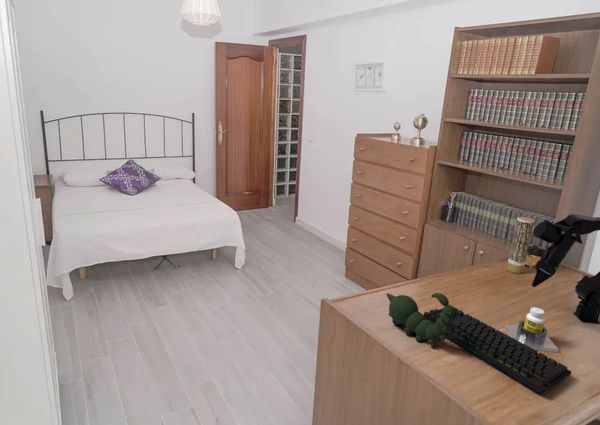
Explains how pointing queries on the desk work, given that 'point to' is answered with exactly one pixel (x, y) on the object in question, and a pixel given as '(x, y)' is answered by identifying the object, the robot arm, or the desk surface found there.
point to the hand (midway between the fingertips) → (534, 284)
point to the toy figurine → (421, 318)
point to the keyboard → (503, 352)
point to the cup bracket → (531, 337)
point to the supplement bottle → (535, 320)
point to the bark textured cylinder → (520, 244)
